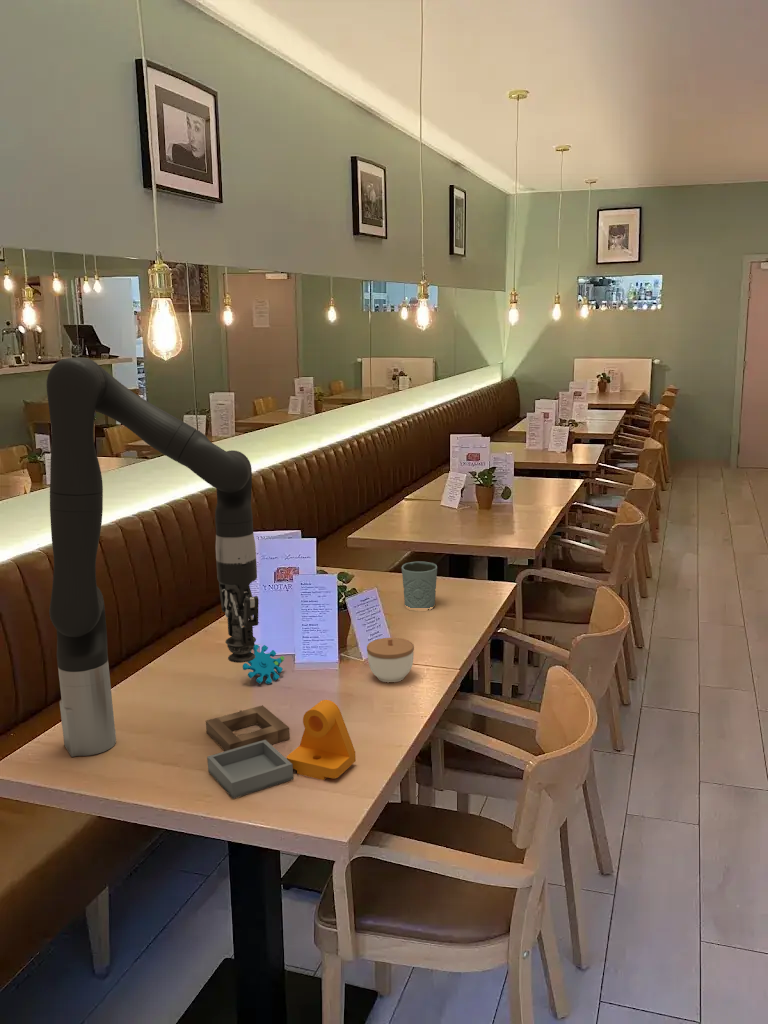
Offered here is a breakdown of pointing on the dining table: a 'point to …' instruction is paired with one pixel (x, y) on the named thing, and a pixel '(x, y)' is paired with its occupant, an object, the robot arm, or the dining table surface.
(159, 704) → the dining table surface
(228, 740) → the frame
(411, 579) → the green embossed pot
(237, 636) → the dark grey chess piece
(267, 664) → the teal virus toy
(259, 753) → the grey tray
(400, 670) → the lidded jar
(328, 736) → the bracket
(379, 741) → the dining table surface
